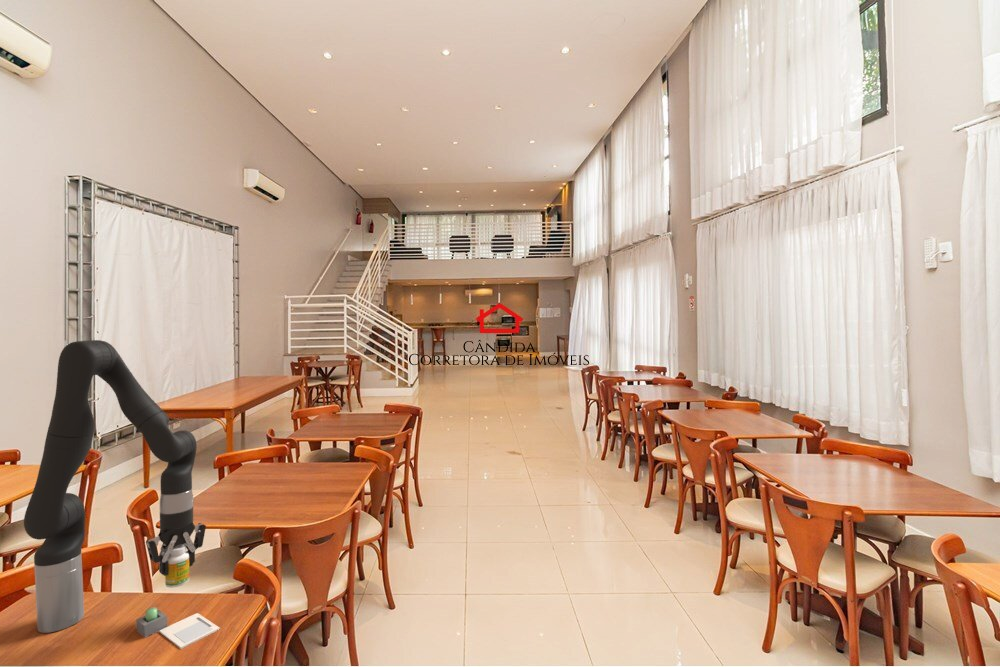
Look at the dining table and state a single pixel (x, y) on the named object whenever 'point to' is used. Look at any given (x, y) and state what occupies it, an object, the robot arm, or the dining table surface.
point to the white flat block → (189, 630)
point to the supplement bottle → (177, 567)
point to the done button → (151, 614)
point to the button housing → (151, 624)
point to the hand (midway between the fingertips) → (177, 569)
